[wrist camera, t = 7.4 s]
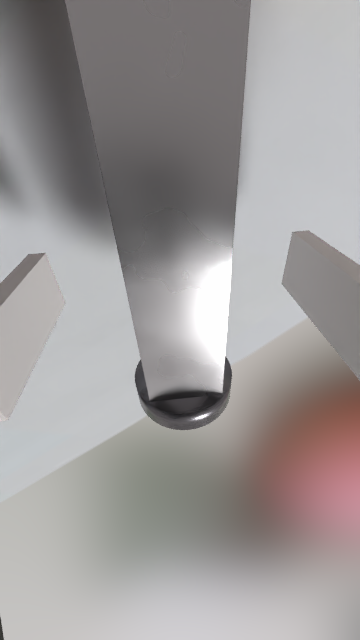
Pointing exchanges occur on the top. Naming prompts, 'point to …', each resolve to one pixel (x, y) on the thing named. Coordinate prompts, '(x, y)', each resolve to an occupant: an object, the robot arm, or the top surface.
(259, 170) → the top surface
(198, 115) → the shaft
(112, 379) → the top surface
